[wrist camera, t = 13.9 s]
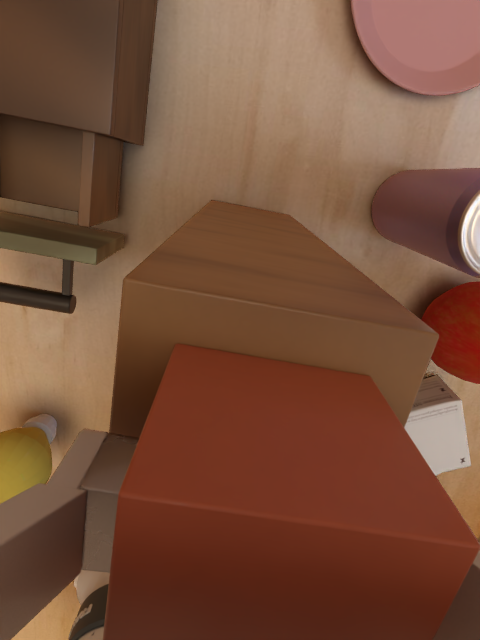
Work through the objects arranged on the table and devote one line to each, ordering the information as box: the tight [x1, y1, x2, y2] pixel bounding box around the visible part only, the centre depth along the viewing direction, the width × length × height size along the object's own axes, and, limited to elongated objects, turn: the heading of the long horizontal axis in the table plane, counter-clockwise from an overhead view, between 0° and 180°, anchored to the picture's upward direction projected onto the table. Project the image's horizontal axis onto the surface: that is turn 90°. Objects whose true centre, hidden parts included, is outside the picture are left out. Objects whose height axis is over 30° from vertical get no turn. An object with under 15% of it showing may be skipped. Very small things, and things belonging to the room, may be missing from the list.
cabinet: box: [0, 0, 157, 146], centre depth 26 cm, size 15×13×9 cm
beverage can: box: [372, 168, 480, 278], centre depth 28 cm, size 6×6×15 cm
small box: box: [404, 375, 471, 476], centre depth 40 cm, size 8×8×5 cm
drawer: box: [0, 114, 125, 314], centre depth 30 cm, size 18×11×7 cm, turn 169°
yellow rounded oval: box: [0, 414, 57, 504], centre depth 38 cm, size 7×7×10 cm
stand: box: [109, 200, 439, 438], centre depth 23 cm, size 7×7×28 cm
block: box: [103, 344, 480, 640], centre depth 8 cm, size 4×4×4 cm
